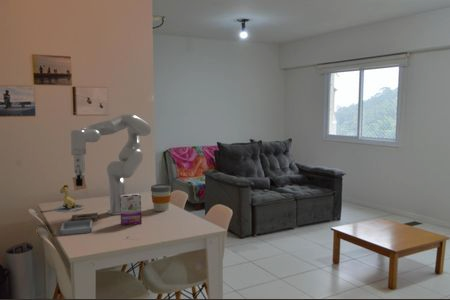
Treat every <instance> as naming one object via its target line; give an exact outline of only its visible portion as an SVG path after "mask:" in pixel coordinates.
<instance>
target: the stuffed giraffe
mask: <svg viewBox="0 0 450 300" xmlns="http://www.w3.org/2000/svg"><path fill="white" fill-rule="evenodd" d="M59 192H60V194H64V197H63V201H64V202H63V205H60V206H58V207H55V208H54V209H53V210H52V209H50V210H49V212H53V211H54V212H55V211H57V212H58V213H76V212H77V211H80V210H82V209H84V207H82V206H84V205H82V204H77V203H76V201H75V199H73V198H71V197H70V196H69V185H68V184H64V185H63V186H61V187H60V190H59Z"/></svg>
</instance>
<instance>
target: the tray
mask: <svg viewBox="0 0 450 300" xmlns="http://www.w3.org/2000/svg"><path fill="white" fill-rule="evenodd" d="M93 223H94V222H93V221H92V220H82V221H71V220H70V221H62V223H61V227H60V229H59V235H60V236H68V235H69V234H70V235H77V234H78V235H79V233H80V234H87V233H88V232H90V233H92V231H93ZM70 235H69V236H70Z"/></svg>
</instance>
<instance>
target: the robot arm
mask: <svg viewBox="0 0 450 300" xmlns="http://www.w3.org/2000/svg"><path fill="white" fill-rule="evenodd" d="M124 129H126V130H127V134H128V138H127V142H126V143H125V145H124V146H122V149H121V150H120V152H119V154H118V160H113V161H111V162H110V163H109V164H108V165H107V167H106V172H107V178H108V182H109V183H108V185H109V205H110V206H109V209H108V210H107V214H108V215H112V216H113V215H114V216H115V215H116V216H118V215H121V211H120V195H122V194H127V193H126V192H127V190H126V187H127V186H126V180H125V179H129V178H131V177H132V176H133V175H134V174H135V173H136V172H137V170H138V168H139V167H140V165H141V163H142V162H143V160H144V153H143V152H142V150H141V148H140V147H141V145H142V144H141V139H140V136H141V137H147V136H149V135H150V134H151V132H152V127H151V125H150V124H149V123H148V122H147V121H145V120H144V119H142V118H141V117H139V116H137V115H135V114H119V115H118V116H114V117H113V118H110V119H108V120H105V121H101V122H97V123H93V124H90V125H87V126H85V127H82V128H80V129H72V130H70V149H71V150H70V151H71V156H73V172H74V174H75V177H76V186H82V176H83V174H84V173H85V171H86V167H85V166H86V165H85V156H86V155H87V143H97V142H98V141H99V140H100V139H101V137H102V136H111V135H113V134H116V133H118V132H120V131H123V130H124Z"/></svg>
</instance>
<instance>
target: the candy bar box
mask: <svg viewBox="0 0 450 300" xmlns="http://www.w3.org/2000/svg"><path fill="white" fill-rule="evenodd" d="M141 196H142V195H141V193H139V192H138V193H126V194H122V195H120V211H121V214H120V225H121V226H128V225H140V224H142V223H143V222H142V221H143V220H142V201H141V198H142V197H141Z"/></svg>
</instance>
